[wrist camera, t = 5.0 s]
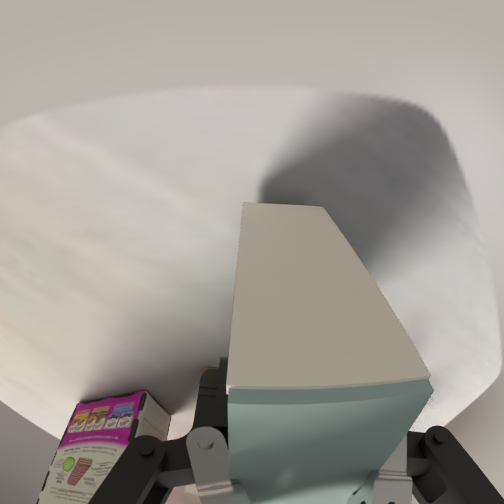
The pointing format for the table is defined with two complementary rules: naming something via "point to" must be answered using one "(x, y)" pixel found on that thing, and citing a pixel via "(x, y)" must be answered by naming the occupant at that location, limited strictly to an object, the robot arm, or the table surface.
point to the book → (313, 362)
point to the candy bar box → (99, 444)
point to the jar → (184, 495)
